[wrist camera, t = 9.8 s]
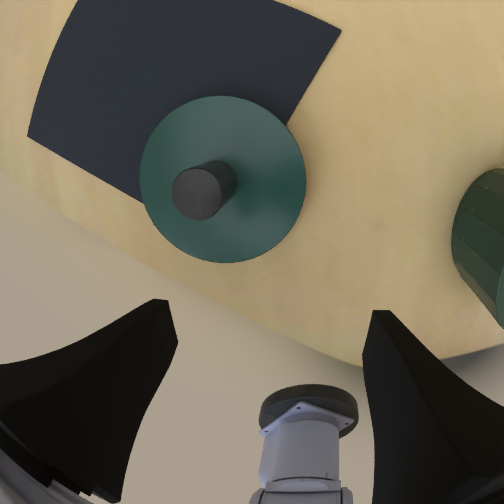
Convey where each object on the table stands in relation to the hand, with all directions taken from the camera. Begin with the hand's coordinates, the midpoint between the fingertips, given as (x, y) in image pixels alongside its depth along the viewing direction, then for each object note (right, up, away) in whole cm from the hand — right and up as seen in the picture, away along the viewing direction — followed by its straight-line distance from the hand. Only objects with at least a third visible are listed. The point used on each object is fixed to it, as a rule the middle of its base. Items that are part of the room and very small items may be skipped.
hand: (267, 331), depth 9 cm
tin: (+18, +4, +5) cm, 19 cm away
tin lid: (-3, +7, +7) cm, 10 cm away
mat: (-8, +14, +5) cm, 17 cm away
